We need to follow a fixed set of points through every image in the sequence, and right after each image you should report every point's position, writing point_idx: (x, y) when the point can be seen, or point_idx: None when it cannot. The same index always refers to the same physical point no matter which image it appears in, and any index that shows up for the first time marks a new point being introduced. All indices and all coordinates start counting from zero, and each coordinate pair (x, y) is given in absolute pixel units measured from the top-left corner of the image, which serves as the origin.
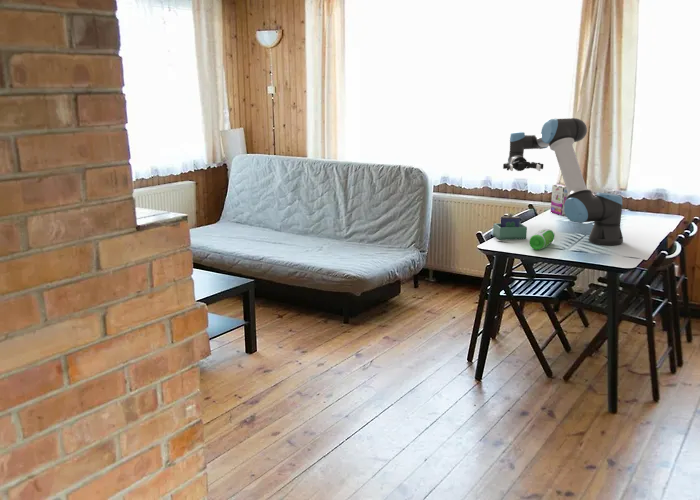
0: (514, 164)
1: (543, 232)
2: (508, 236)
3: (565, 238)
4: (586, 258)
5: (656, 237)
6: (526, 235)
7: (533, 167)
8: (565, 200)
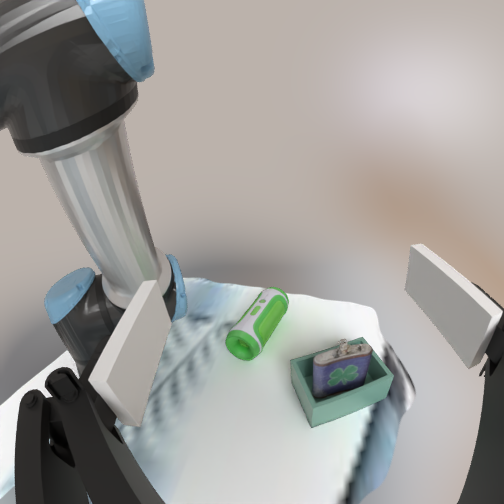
0: (498, 447)
1: (257, 302)
2: None
3: (183, 401)
4: (204, 293)
5: (20, 392)
6: (291, 375)
7: (145, 482)
8: None
